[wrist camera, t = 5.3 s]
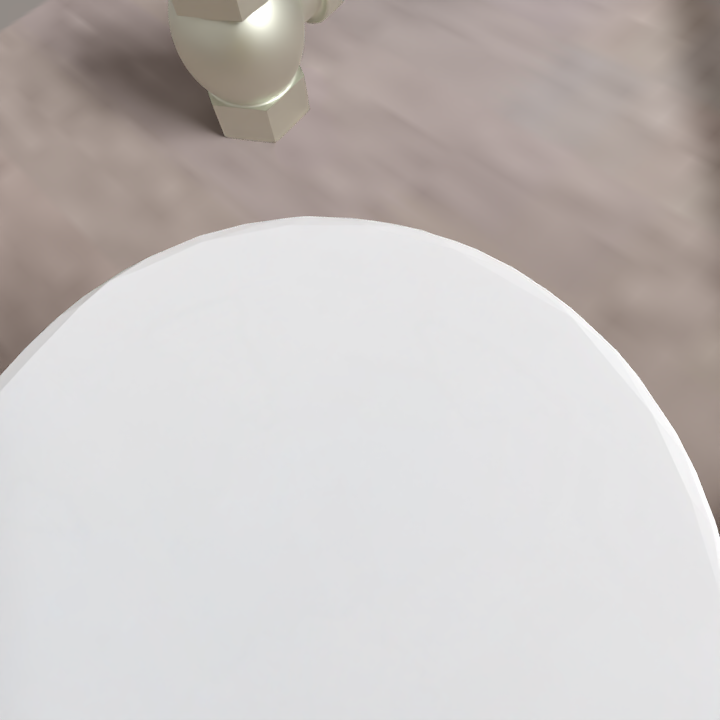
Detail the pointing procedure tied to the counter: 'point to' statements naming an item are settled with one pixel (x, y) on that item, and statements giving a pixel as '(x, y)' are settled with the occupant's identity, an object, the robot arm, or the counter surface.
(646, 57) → the counter surface
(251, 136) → the valve
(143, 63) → the counter surface
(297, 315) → the supplement bottle
